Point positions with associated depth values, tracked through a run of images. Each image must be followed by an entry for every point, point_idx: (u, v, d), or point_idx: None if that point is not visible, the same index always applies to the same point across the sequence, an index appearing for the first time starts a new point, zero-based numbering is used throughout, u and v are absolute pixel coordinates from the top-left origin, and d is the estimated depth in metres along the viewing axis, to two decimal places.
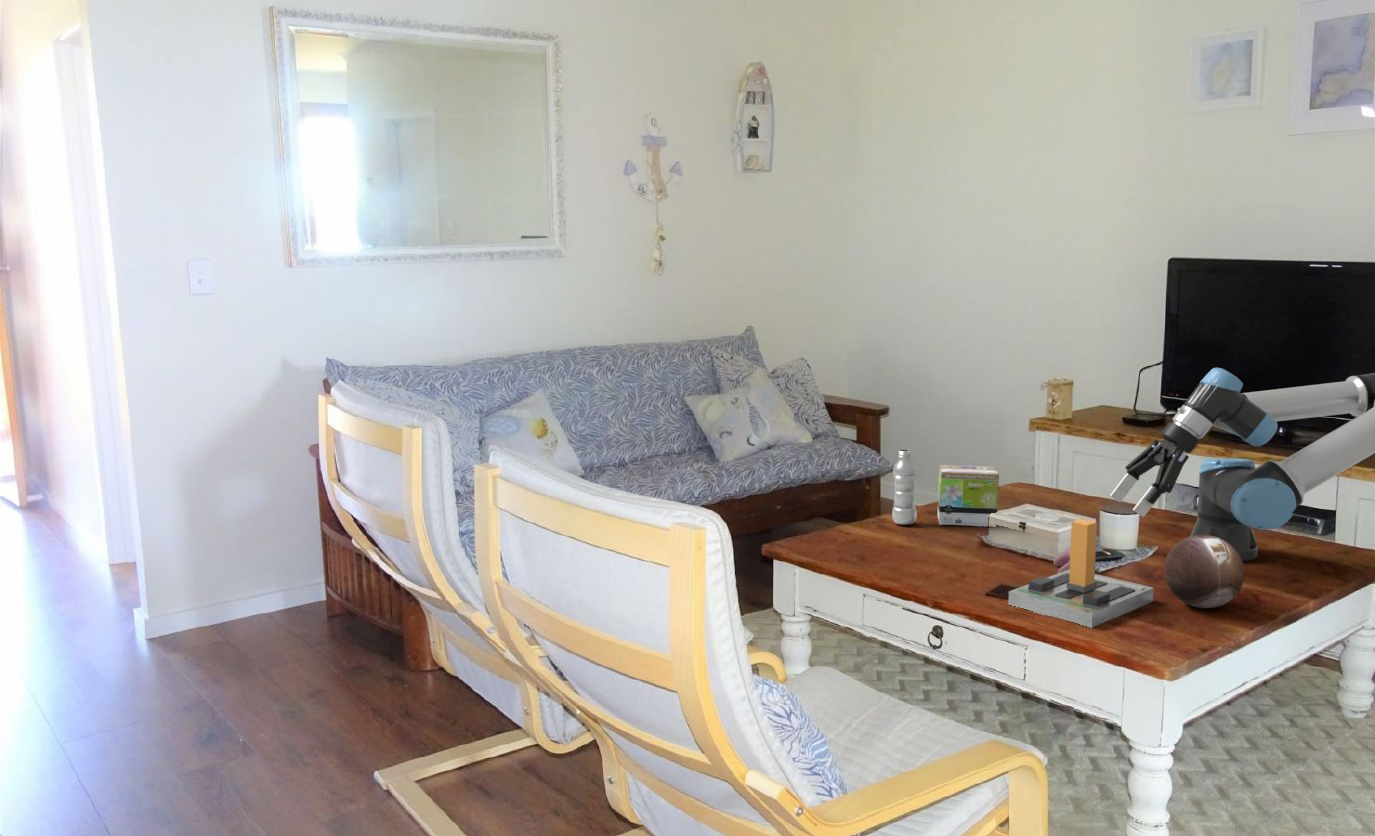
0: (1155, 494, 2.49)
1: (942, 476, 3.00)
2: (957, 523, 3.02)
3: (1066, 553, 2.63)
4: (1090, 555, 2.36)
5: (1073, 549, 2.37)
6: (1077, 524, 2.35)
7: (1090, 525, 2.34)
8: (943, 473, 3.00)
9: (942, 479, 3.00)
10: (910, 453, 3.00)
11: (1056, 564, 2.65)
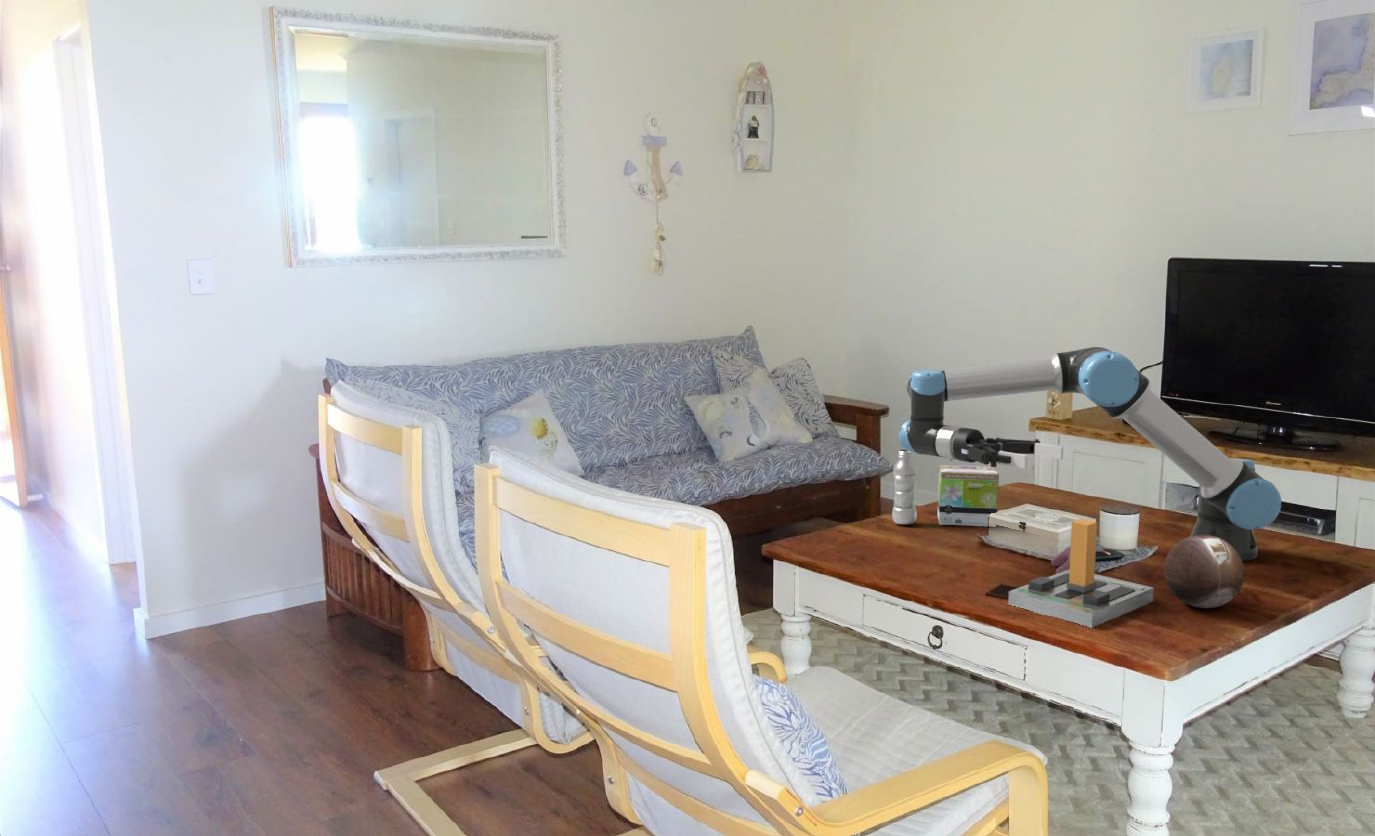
0: (999, 460, 2.40)
1: (942, 476, 3.00)
2: (957, 523, 3.02)
3: (1064, 553, 2.63)
4: (1090, 555, 2.36)
5: (1073, 549, 2.37)
6: (1077, 524, 2.35)
7: (1090, 525, 2.34)
8: (943, 473, 3.00)
9: (942, 479, 3.00)
10: (910, 453, 3.00)
11: (1054, 564, 2.65)
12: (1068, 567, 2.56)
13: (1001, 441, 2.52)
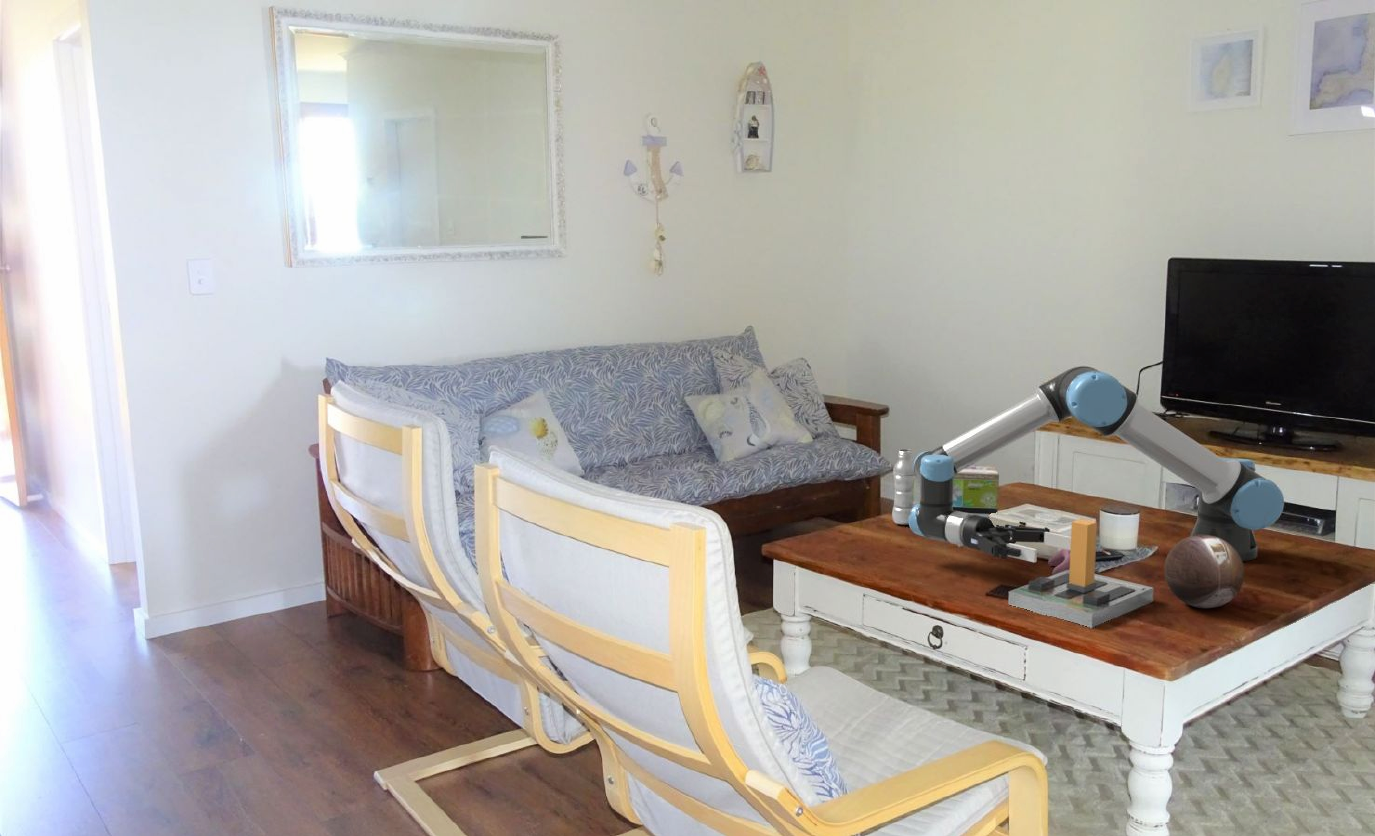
0: (1008, 553, 2.41)
1: None
2: None
3: (1060, 553, 2.63)
4: (1090, 555, 2.36)
5: (1073, 549, 2.37)
6: (1077, 524, 2.35)
7: (1090, 525, 2.34)
8: None
9: None
10: (910, 453, 3.00)
11: (1050, 564, 2.65)
12: (1065, 567, 2.56)
13: (1011, 529, 2.53)
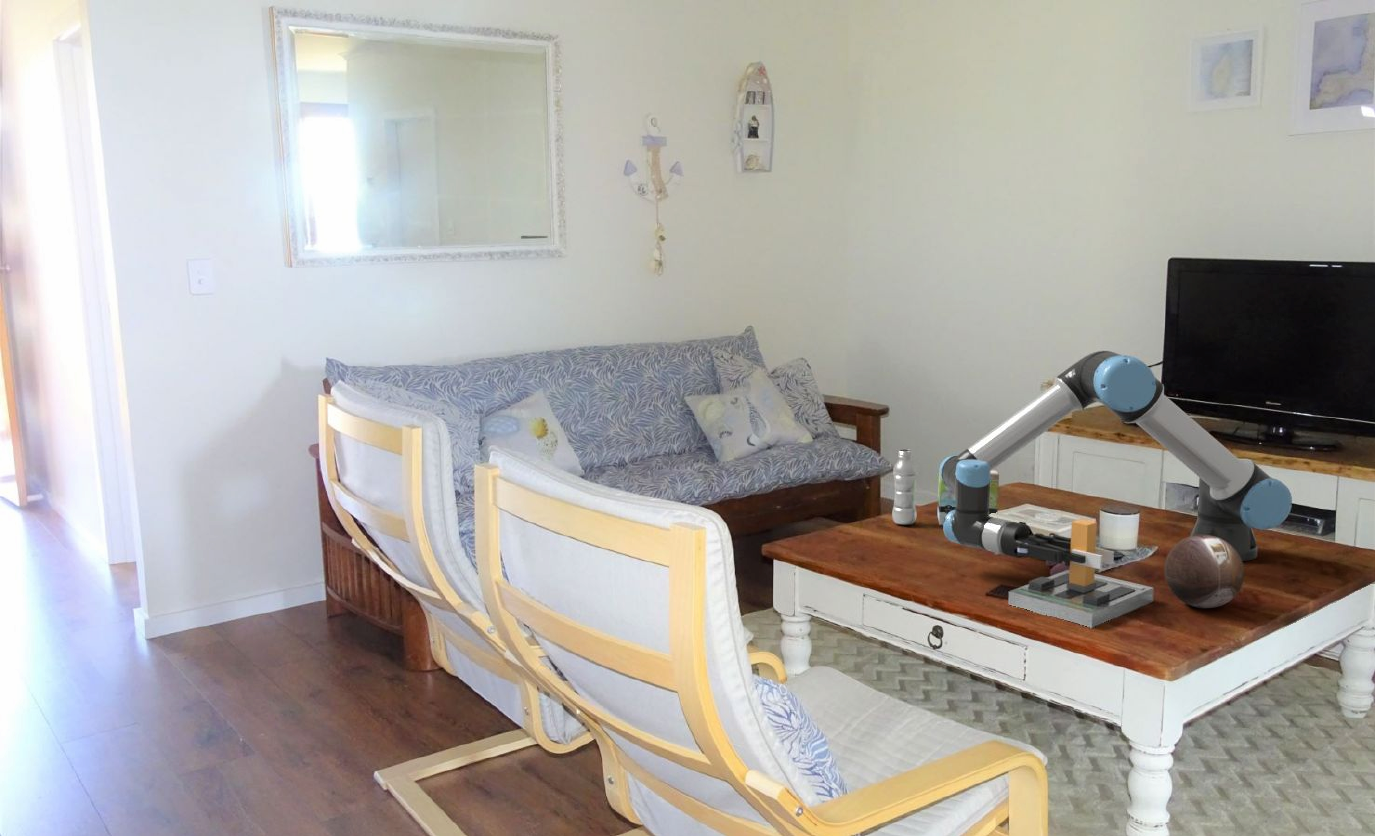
0: (1073, 559, 2.35)
1: None
2: None
3: None
4: None
5: None
6: (1077, 524, 2.35)
7: (1090, 525, 2.34)
8: None
9: None
10: (910, 453, 3.00)
11: (1048, 564, 2.65)
12: (1062, 567, 2.56)
13: (1048, 538, 2.44)
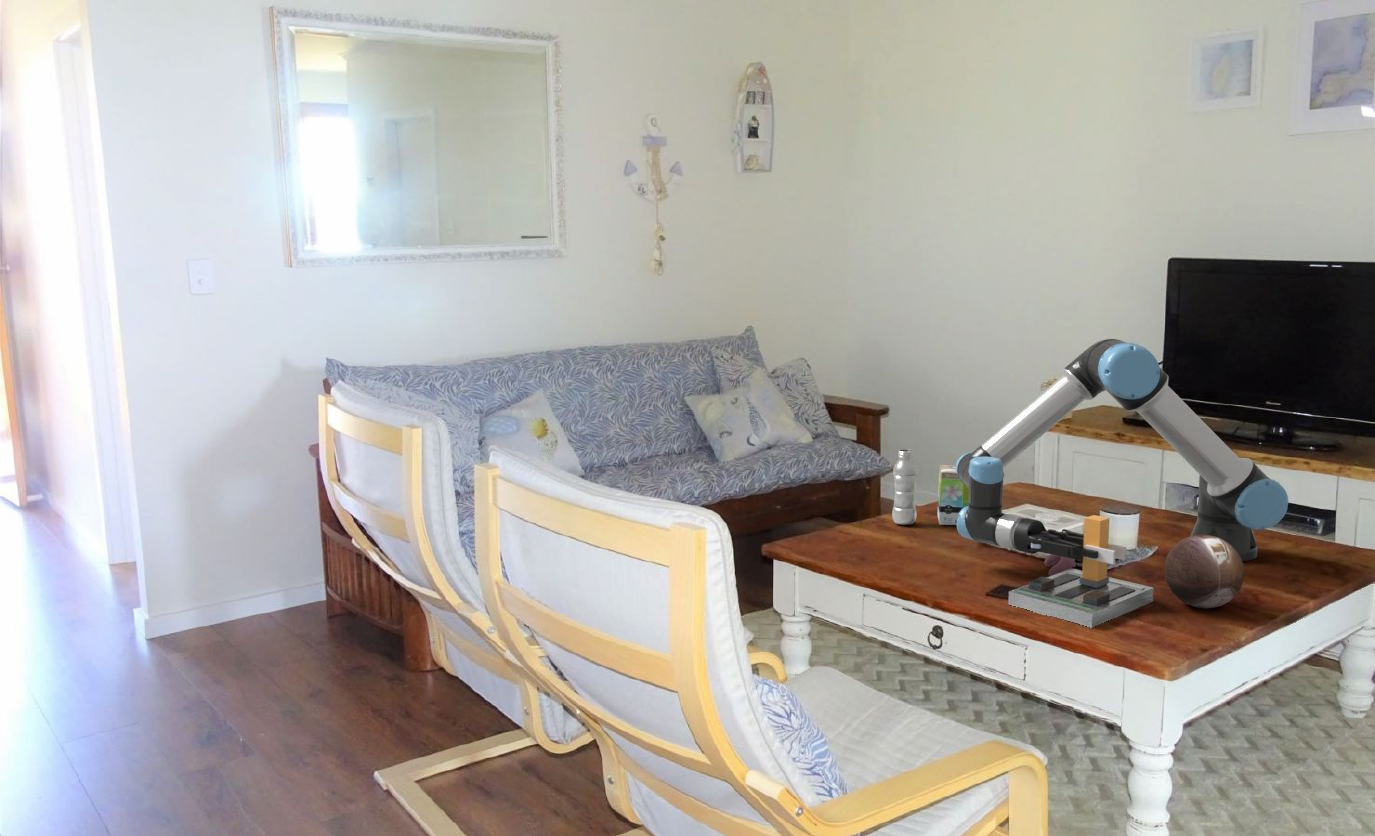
0: (1086, 555, 2.38)
1: (942, 476, 3.00)
2: None
3: None
4: None
5: None
6: (1090, 520, 2.38)
7: (1103, 521, 2.38)
8: (943, 473, 3.00)
9: (942, 479, 3.00)
10: (910, 453, 3.00)
11: (1047, 564, 2.65)
12: (1061, 567, 2.56)
13: (1061, 534, 2.48)
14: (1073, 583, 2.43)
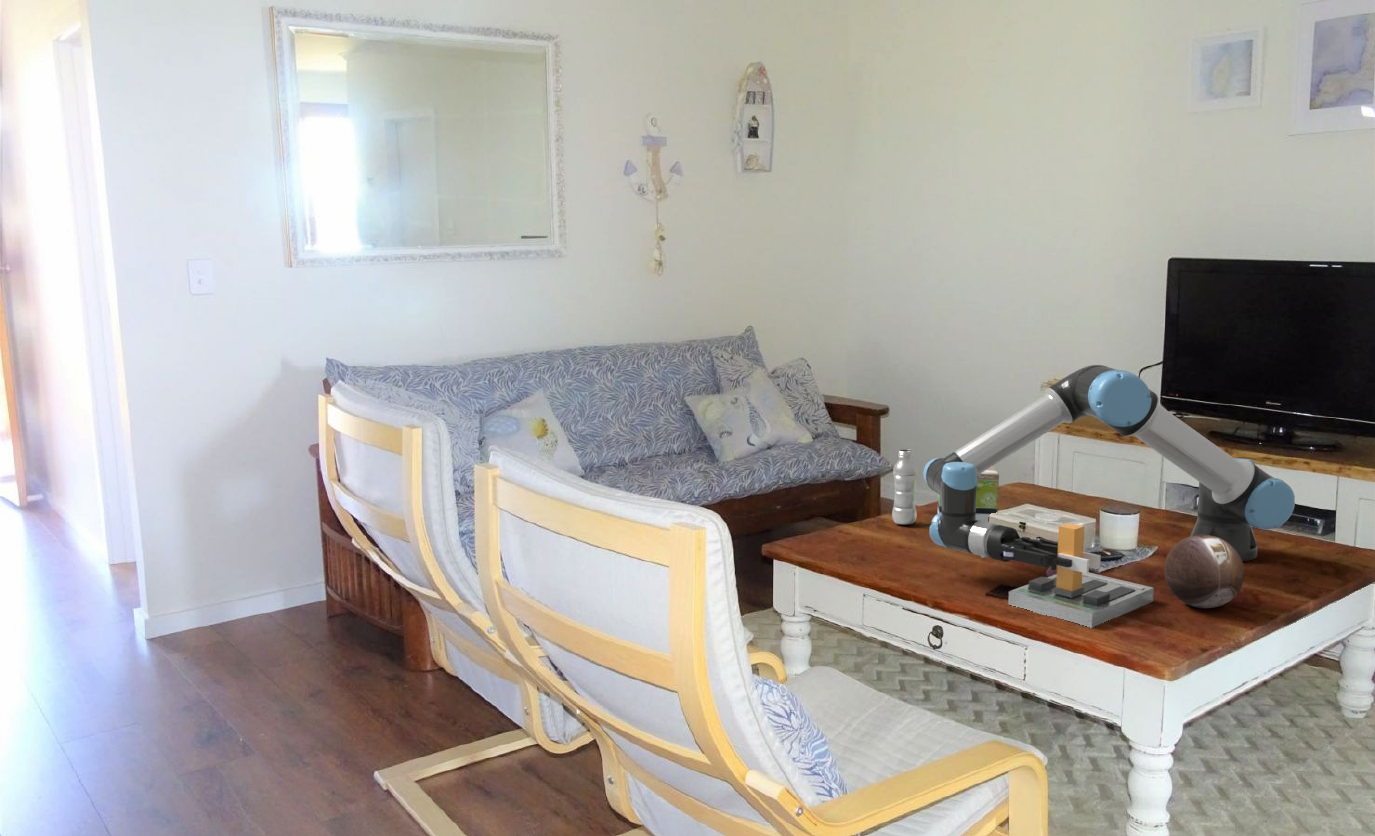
0: (1059, 563, 2.32)
1: None
2: None
3: None
4: None
5: None
6: (1064, 528, 2.32)
7: (1078, 529, 2.31)
8: None
9: None
10: (910, 453, 3.00)
11: None
12: None
13: (1035, 542, 2.41)
14: None
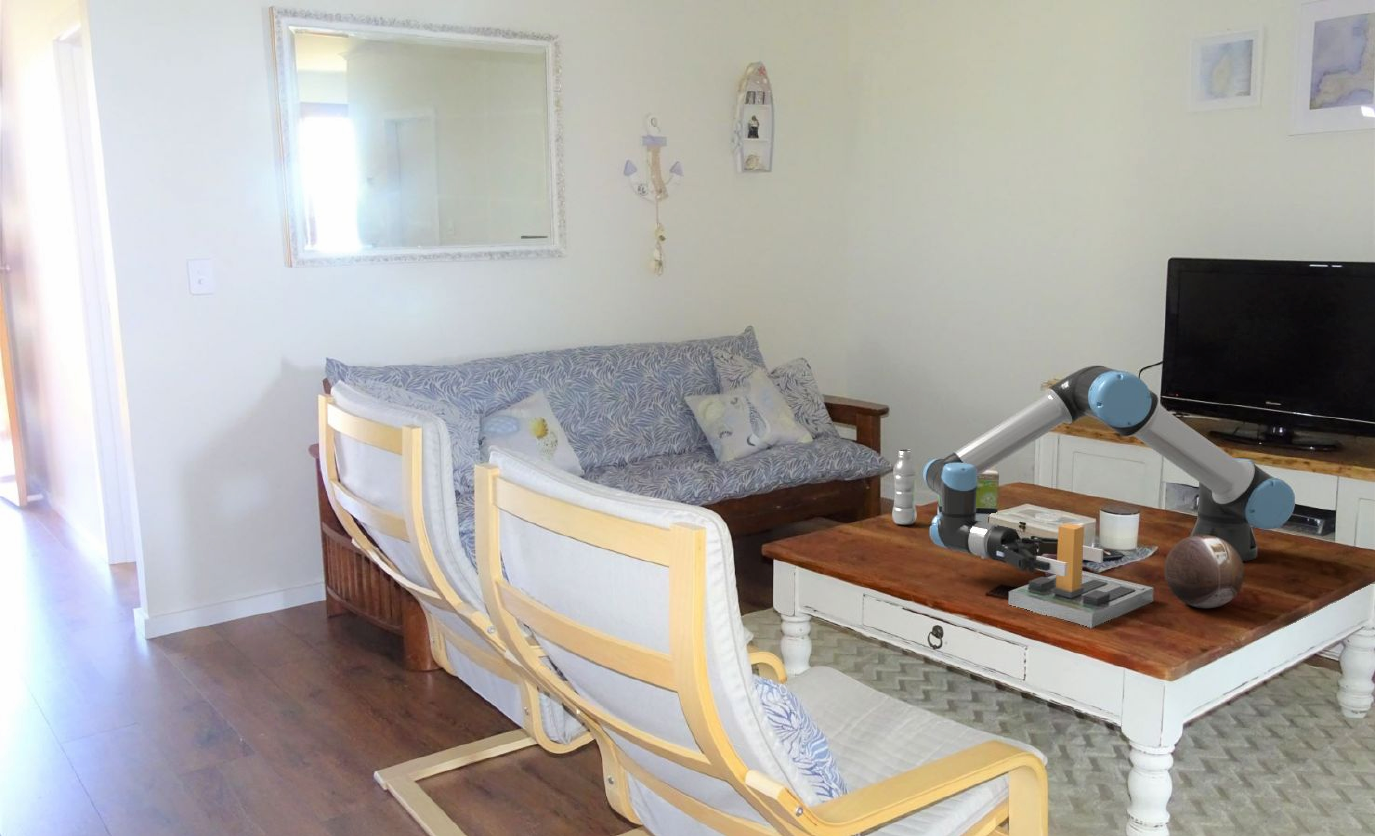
0: (1037, 566, 2.30)
1: None
2: None
3: None
4: (1077, 559, 2.33)
5: (1060, 554, 2.34)
6: (1064, 528, 2.32)
7: (1077, 529, 2.31)
8: None
9: None
10: (910, 453, 3.00)
11: None
12: None
13: (1037, 541, 2.42)
14: None
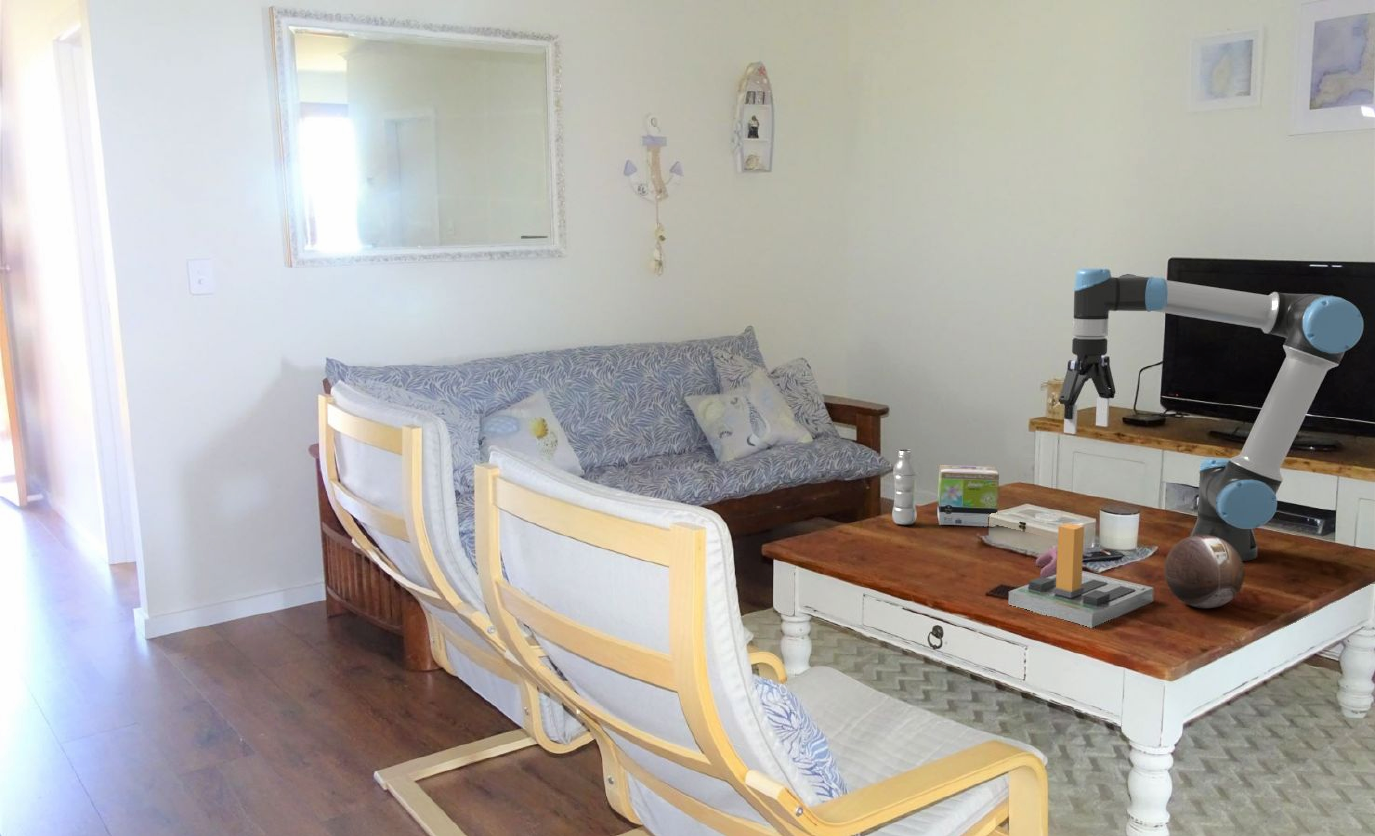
0: (1066, 409, 2.56)
1: (942, 476, 3.00)
2: (957, 523, 3.02)
3: (1048, 553, 2.64)
4: (1077, 559, 2.33)
5: (1060, 554, 2.34)
6: (1064, 528, 2.32)
7: (1077, 529, 2.31)
8: (943, 473, 3.00)
9: (942, 479, 3.00)
10: (910, 453, 3.00)
11: (1038, 564, 2.65)
12: (1053, 567, 2.56)
13: (1100, 375, 2.61)
14: None
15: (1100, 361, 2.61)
